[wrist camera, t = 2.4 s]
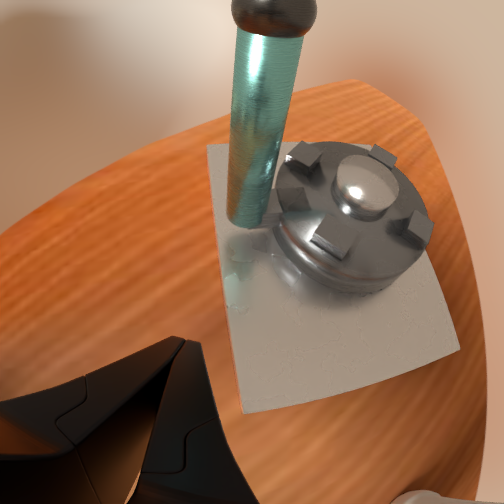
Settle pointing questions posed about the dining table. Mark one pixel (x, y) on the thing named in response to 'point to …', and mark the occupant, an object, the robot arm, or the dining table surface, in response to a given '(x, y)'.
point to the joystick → (312, 168)
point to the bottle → (431, 499)
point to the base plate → (316, 315)
